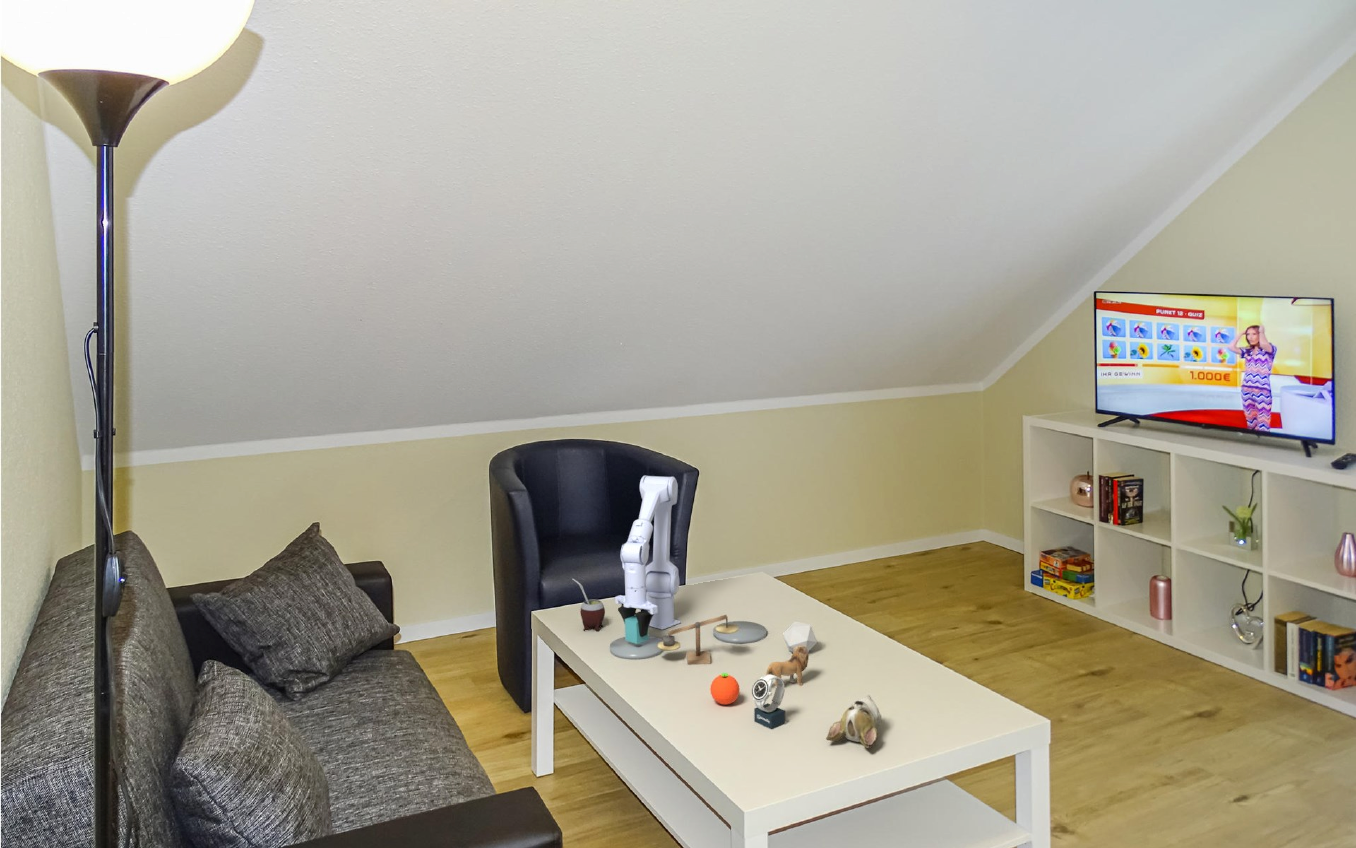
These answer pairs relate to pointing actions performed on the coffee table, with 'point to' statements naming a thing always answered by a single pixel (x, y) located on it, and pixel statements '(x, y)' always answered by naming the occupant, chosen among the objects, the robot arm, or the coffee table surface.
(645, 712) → the coffee table surface
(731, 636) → the grey round disc
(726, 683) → the clementine
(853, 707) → the ceramic sculpture
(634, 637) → the block
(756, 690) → the watch
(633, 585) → the robot arm
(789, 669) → the lion figurine
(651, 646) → the dish low side
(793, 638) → the die
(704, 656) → the balance
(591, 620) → the mate gourd
